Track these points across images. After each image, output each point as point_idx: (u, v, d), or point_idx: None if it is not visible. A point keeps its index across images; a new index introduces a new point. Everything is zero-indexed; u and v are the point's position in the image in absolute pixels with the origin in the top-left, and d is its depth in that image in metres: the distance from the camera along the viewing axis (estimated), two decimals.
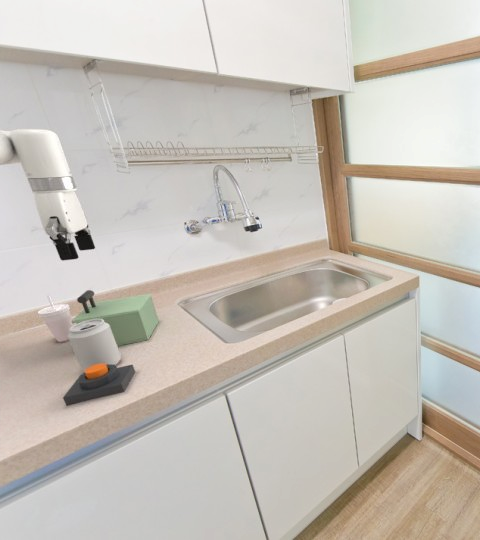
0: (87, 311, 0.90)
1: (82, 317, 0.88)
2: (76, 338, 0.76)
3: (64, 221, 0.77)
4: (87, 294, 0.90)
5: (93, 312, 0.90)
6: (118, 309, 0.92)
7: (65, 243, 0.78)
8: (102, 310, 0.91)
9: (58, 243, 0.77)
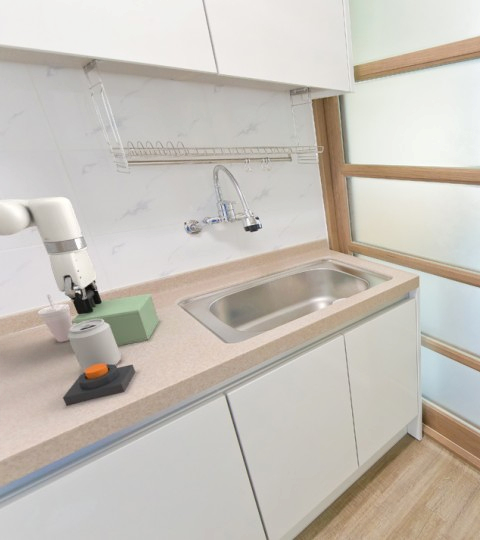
0: None
1: (82, 317, 0.88)
2: (76, 338, 0.76)
3: (76, 279, 0.85)
4: (87, 294, 0.90)
5: (93, 312, 0.90)
6: (118, 309, 0.92)
7: (82, 299, 0.87)
8: (102, 310, 0.91)
9: (76, 300, 0.86)
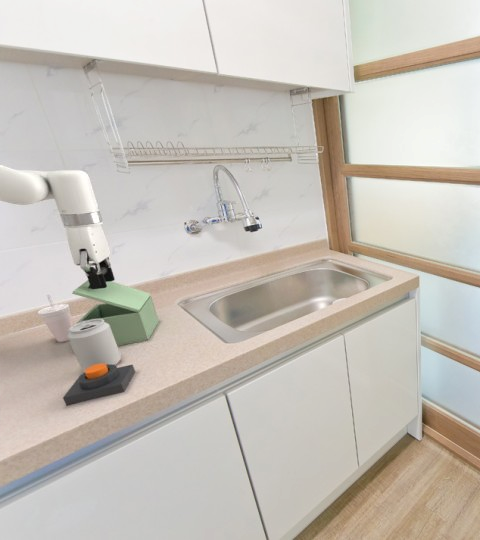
0: None
1: (84, 291, 0.86)
2: (76, 338, 0.76)
3: (92, 253, 0.84)
4: (102, 272, 0.90)
5: (95, 289, 0.89)
6: (119, 299, 0.91)
7: (96, 274, 0.87)
8: (104, 293, 0.90)
9: (90, 274, 0.86)
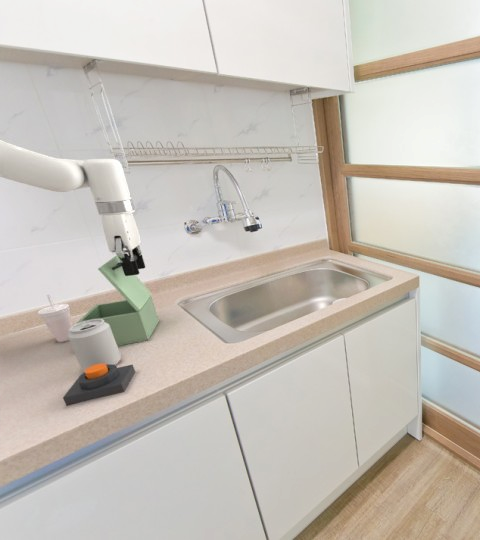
0: (114, 268, 0.89)
1: (108, 271, 0.87)
2: (76, 338, 0.76)
3: (126, 240, 0.86)
4: None
5: (115, 272, 0.90)
6: (129, 291, 0.91)
7: (130, 261, 0.89)
8: (121, 279, 0.90)
9: (124, 261, 0.88)
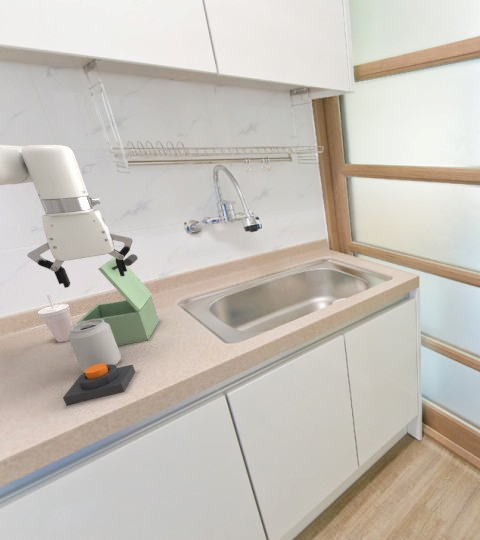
0: (114, 268, 0.89)
1: (108, 271, 0.87)
2: (76, 338, 0.76)
3: (50, 247, 0.69)
4: (134, 261, 0.92)
5: (115, 272, 0.90)
6: (129, 291, 0.91)
7: None
8: (121, 279, 0.90)
9: None
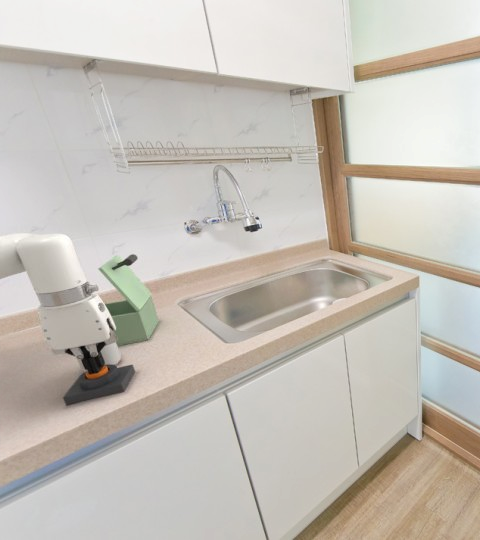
0: (114, 268, 0.89)
1: (108, 271, 0.87)
2: None
3: None
4: (134, 261, 0.92)
5: (115, 272, 0.90)
6: (129, 291, 0.91)
7: None
8: (121, 279, 0.90)
9: None
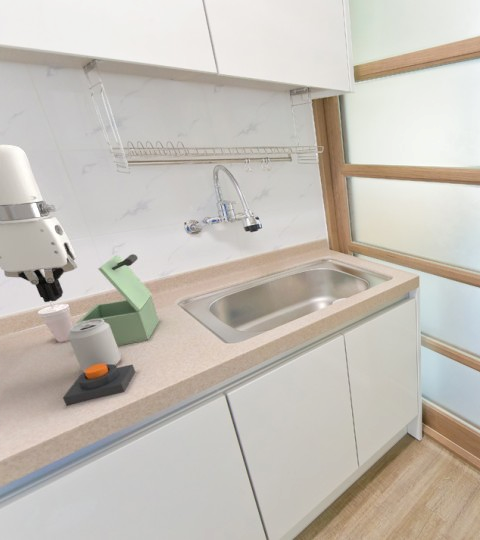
0: (114, 268, 0.89)
1: (108, 271, 0.87)
2: (76, 338, 0.76)
3: None
4: (134, 261, 0.92)
5: (115, 272, 0.90)
6: (129, 291, 0.91)
7: None
8: (121, 279, 0.90)
9: None
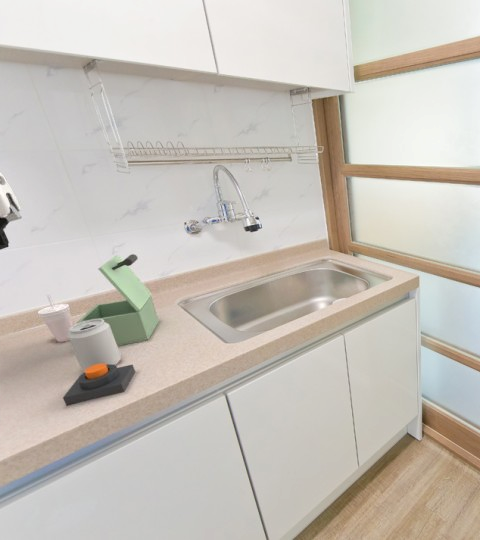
0: (114, 268, 0.89)
1: (108, 271, 0.87)
2: (76, 338, 0.76)
3: None
4: (134, 261, 0.92)
5: (115, 272, 0.90)
6: (129, 291, 0.91)
7: None
8: (121, 279, 0.90)
9: None
